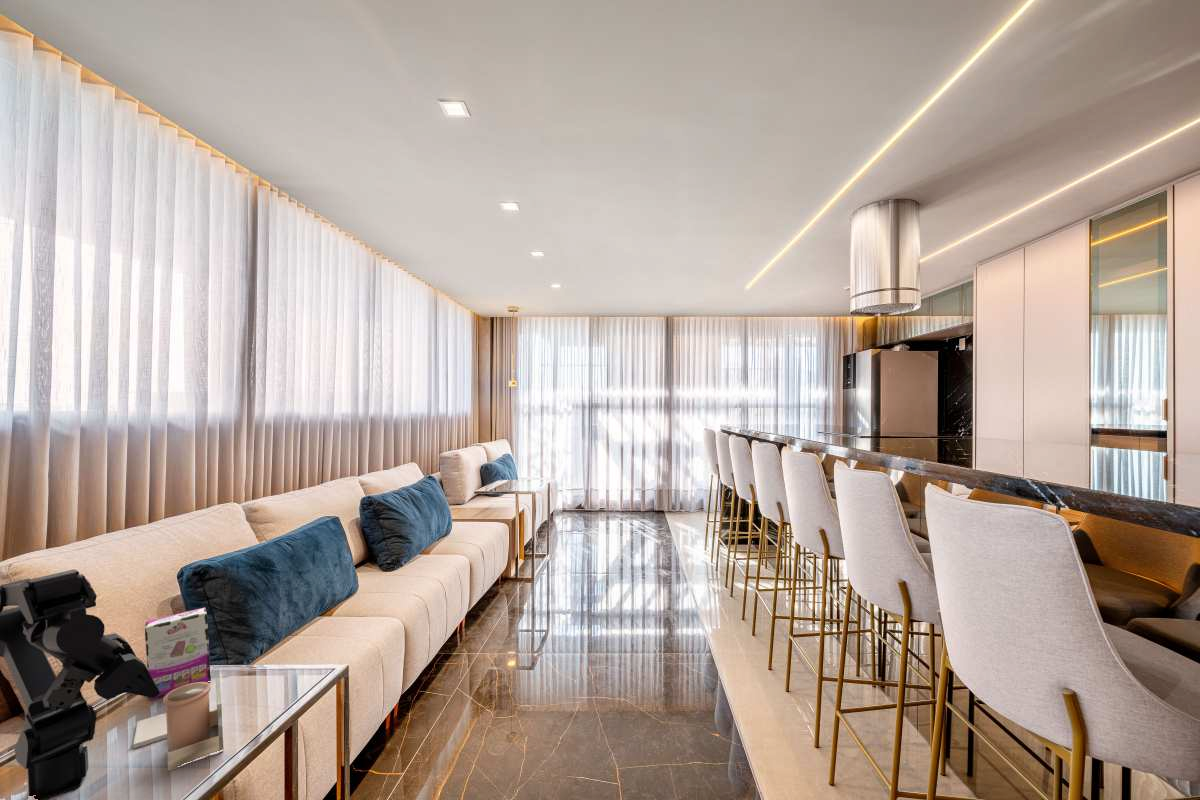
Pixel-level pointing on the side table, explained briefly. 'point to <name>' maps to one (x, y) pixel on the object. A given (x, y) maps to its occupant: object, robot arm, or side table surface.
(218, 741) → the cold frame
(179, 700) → the terracotta pot
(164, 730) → the ceramic tile
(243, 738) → the side table surface
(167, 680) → the candy bar box
